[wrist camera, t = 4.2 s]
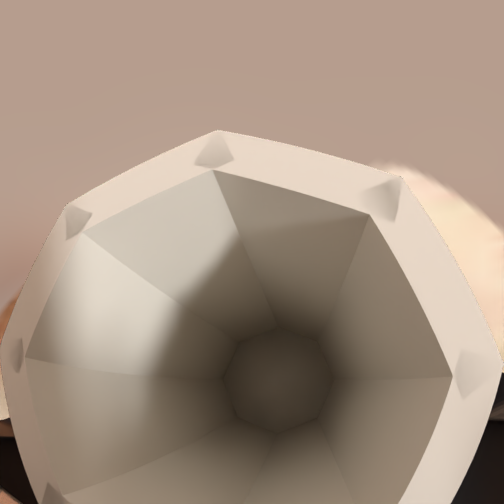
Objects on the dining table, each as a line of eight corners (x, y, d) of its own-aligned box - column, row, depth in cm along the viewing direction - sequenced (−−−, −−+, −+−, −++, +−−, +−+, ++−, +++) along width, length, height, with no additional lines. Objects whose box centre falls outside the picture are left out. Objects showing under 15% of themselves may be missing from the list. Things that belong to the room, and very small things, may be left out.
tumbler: (243, 455, 13) (95, 600, 1) (200, 346, 16) (-3, 249, 4) (360, 409, 13) (532, 477, 2) (311, 300, 16) (330, 92, 4)
